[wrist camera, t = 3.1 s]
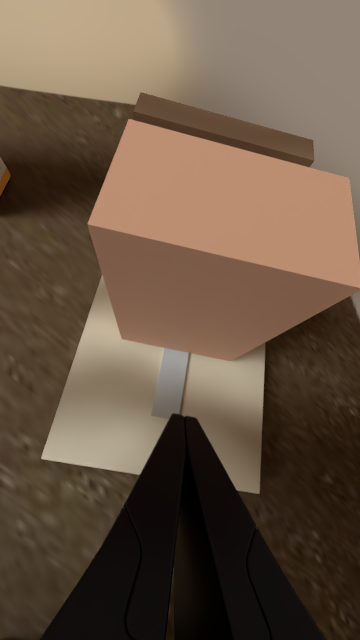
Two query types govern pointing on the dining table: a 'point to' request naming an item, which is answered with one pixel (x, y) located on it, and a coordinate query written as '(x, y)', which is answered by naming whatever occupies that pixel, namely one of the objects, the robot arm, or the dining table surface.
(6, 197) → the dining table surface
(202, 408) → the track
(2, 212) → the dining table surface
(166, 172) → the tan rectangular block
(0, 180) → the supplement box
